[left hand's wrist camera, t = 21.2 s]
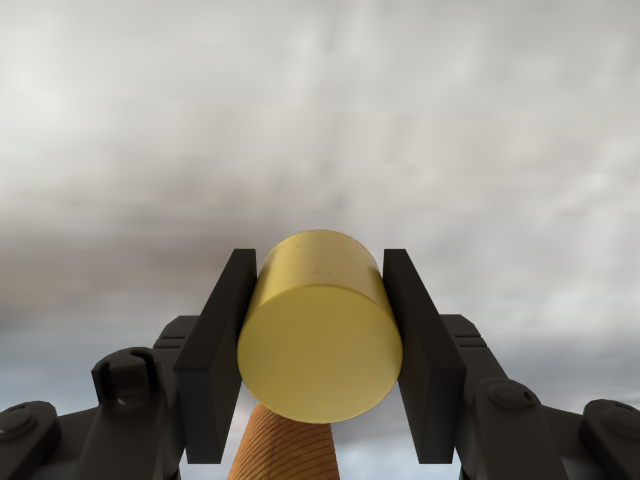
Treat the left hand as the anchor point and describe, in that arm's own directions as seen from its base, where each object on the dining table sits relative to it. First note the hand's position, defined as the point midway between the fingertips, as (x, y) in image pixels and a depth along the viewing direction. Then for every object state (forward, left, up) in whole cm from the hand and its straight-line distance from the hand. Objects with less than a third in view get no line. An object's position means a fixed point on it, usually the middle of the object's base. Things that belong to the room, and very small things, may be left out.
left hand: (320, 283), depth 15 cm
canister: (0, 0, 0) cm, 0 cm away
